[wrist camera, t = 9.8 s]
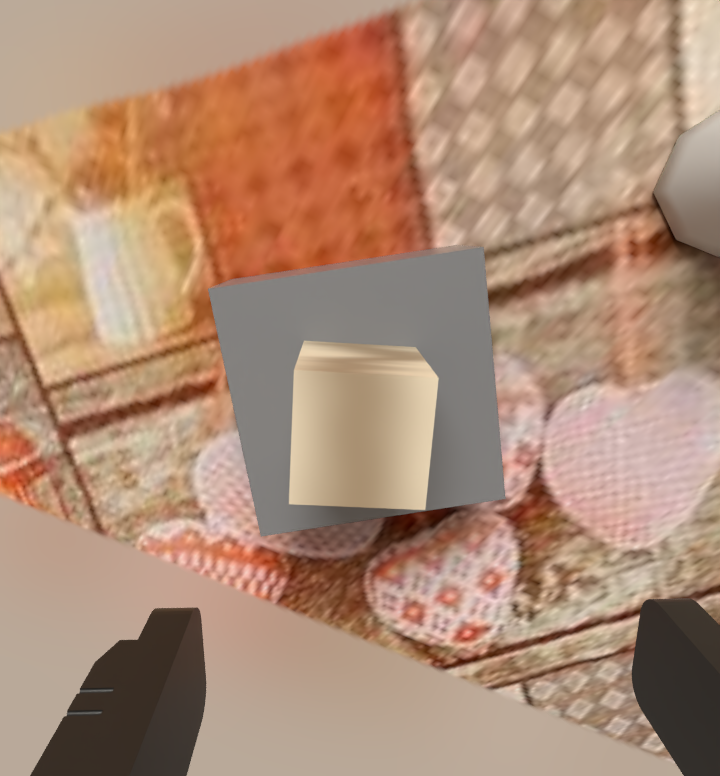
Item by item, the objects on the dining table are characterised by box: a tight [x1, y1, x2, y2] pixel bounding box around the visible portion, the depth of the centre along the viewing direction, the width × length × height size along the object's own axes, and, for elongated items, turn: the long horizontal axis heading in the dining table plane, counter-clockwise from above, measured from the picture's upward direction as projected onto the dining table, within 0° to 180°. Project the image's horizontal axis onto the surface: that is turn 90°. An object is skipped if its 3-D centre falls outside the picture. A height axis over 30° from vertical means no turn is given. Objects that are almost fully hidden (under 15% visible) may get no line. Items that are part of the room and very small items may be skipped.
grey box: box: [208, 245, 505, 536], centre depth 29 cm, size 12×12×6 cm
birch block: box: [289, 341, 439, 510], centre depth 23 cm, size 5×5×6 cm
